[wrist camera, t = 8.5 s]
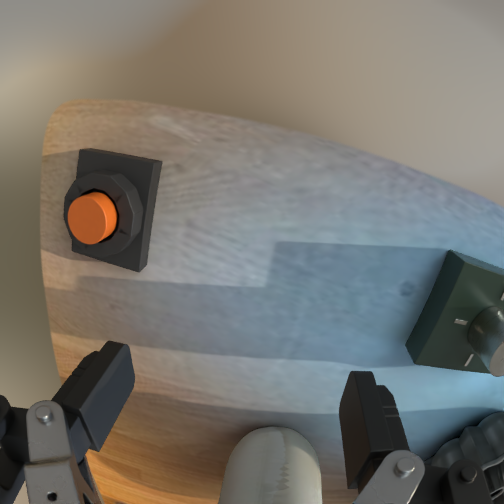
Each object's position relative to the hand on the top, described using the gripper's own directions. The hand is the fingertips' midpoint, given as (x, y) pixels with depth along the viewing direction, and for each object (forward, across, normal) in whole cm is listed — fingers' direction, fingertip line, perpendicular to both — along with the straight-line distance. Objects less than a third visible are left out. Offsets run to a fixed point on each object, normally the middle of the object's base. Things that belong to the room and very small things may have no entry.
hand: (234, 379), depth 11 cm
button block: (+16, +12, -2) cm, 20 cm away
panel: (+15, -21, +5) cm, 27 cm away
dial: (+12, -21, +5) cm, 25 cm away
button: (+12, +12, -2) cm, 18 cm away
